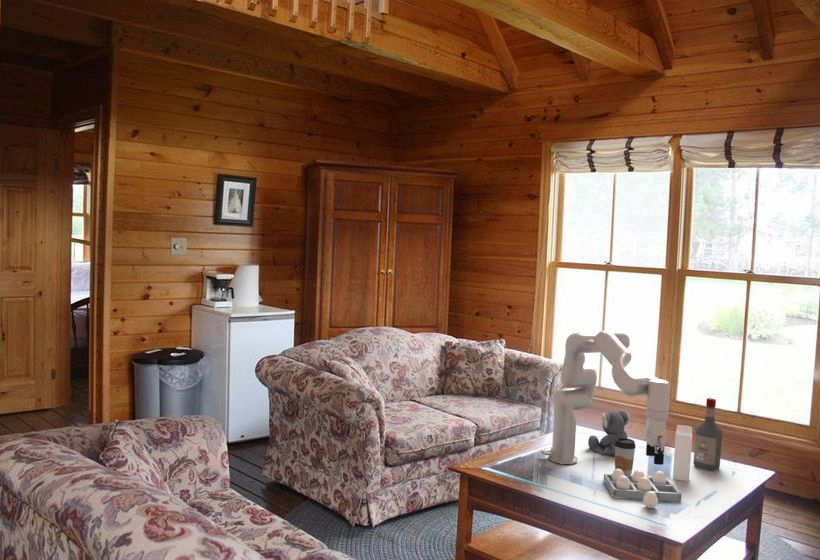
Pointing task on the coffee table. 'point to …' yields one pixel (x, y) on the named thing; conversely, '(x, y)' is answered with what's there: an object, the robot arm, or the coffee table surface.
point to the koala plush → (610, 432)
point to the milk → (682, 453)
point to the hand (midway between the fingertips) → (654, 459)
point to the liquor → (708, 441)
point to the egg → (650, 499)
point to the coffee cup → (624, 455)
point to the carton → (641, 485)
